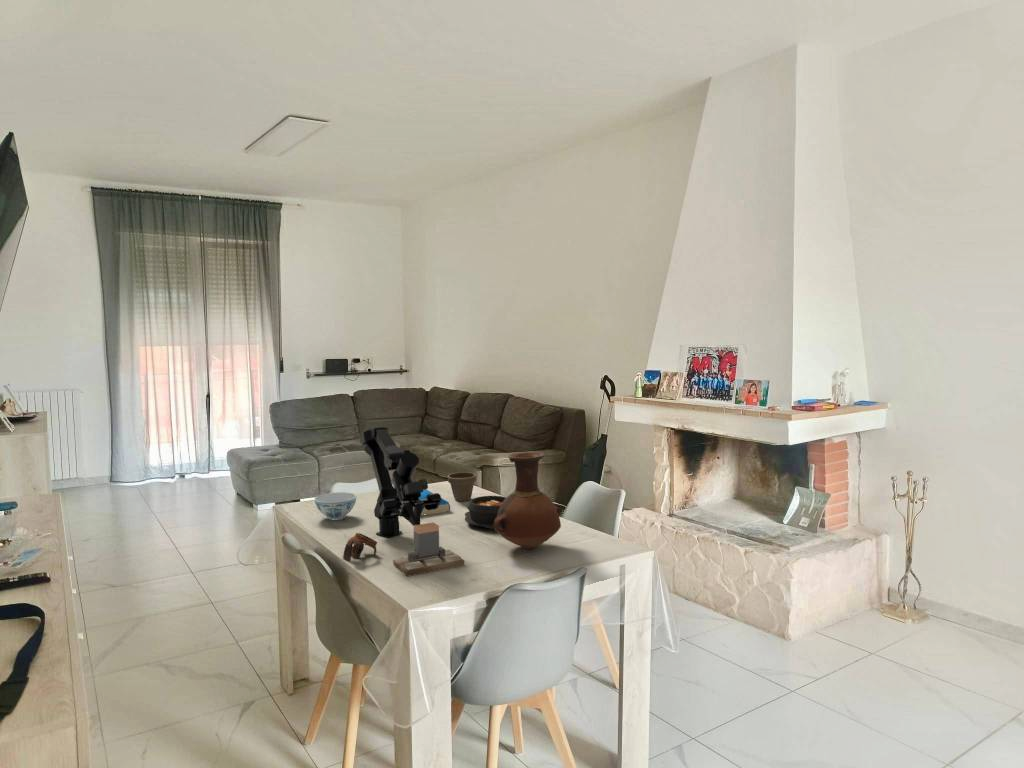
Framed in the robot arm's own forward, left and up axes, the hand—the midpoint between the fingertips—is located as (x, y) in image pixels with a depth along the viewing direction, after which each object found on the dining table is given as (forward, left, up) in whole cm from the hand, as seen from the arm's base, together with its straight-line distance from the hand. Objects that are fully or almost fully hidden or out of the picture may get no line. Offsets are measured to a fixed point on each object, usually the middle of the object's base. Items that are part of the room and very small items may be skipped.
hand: (418, 528), depth 212 cm
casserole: (-5, +41, -9) cm, 42 cm away
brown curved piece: (-15, -11, -9) cm, 21 cm away
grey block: (+6, -2, -7) cm, 9 cm away
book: (-43, +41, -10) cm, 61 cm away
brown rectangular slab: (+7, -3, -9) cm, 12 cm away
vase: (+22, +27, -9) cm, 36 cm away
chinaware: (-56, +13, -9) cm, 59 cm away
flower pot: (-36, +60, -9) cm, 71 cm away
